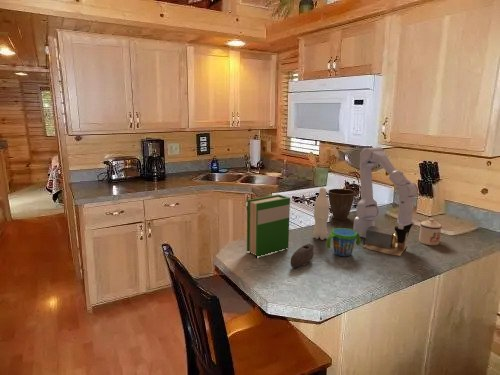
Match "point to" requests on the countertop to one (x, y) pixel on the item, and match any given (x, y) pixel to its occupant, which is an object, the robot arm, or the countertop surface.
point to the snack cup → (343, 241)
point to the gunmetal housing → (379, 237)
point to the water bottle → (321, 215)
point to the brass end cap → (399, 245)
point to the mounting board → (392, 251)
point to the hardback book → (268, 224)
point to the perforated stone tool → (302, 256)
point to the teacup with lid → (430, 232)
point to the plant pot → (341, 202)
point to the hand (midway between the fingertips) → (402, 240)
